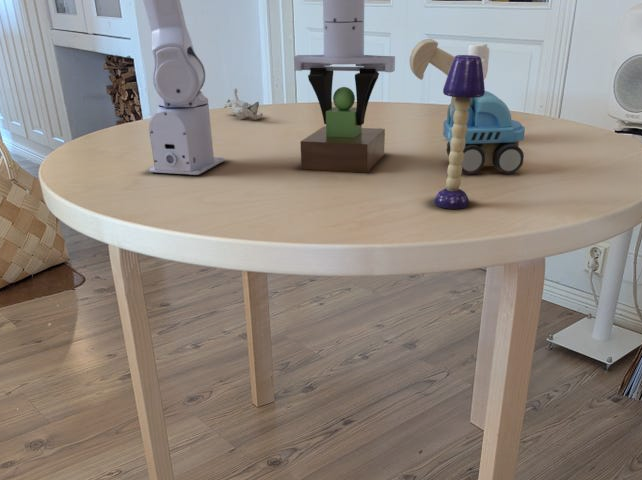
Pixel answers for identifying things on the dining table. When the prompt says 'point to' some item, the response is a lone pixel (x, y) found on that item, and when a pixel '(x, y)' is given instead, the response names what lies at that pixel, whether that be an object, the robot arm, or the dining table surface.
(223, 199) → the dining table surface
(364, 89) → the robot arm
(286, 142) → the dining table surface
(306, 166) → the walnut block
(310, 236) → the dining table surface
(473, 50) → the figurine
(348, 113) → the green toy
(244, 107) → the toy cat
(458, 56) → the toy lamp
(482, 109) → the toy excavator
